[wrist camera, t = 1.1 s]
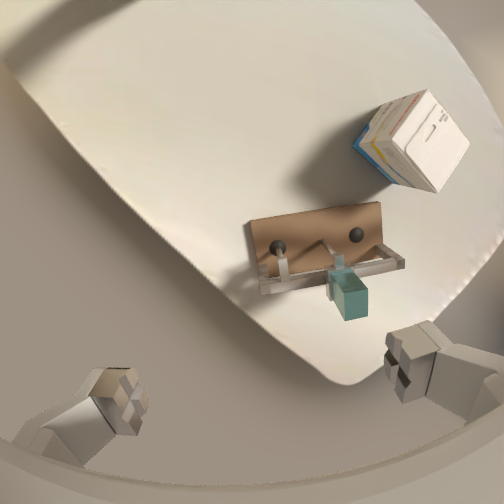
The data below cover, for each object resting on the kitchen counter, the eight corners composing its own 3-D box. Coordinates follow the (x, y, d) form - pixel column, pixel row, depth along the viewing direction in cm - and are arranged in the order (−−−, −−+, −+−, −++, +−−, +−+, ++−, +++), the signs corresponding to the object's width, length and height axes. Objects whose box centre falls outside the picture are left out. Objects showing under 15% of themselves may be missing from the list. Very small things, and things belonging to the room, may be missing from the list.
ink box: (392, 185, 37) (438, 197, 26) (350, 145, 35) (388, 141, 24) (422, 143, 35) (472, 142, 24) (383, 102, 33) (427, 86, 22)
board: (250, 220, 38) (250, 235, 31) (377, 201, 38) (404, 211, 30) (260, 275, 41) (262, 302, 33) (379, 254, 40) (404, 274, 32)
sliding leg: (311, 238, 38) (340, 277, 25) (333, 234, 37) (370, 271, 25) (314, 273, 39) (341, 324, 26) (335, 269, 39) (370, 317, 26)
